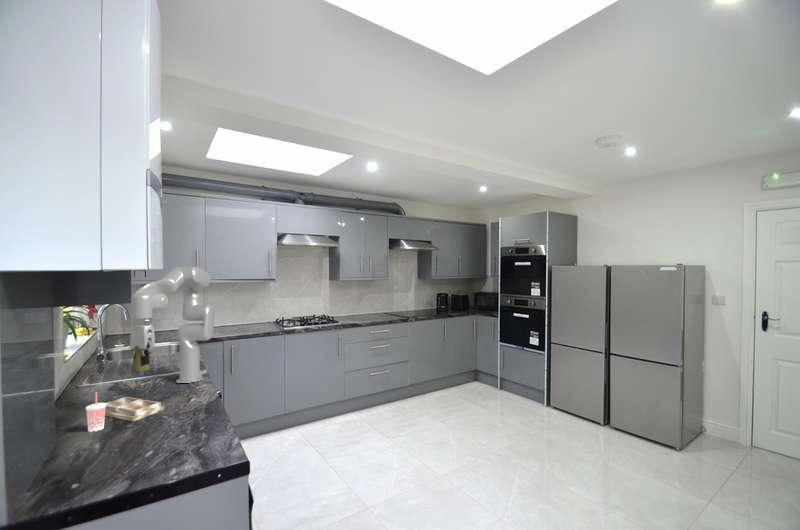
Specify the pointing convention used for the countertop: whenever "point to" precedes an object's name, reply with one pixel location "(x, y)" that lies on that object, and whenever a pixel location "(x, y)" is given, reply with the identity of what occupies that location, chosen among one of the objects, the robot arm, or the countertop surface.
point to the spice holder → (132, 408)
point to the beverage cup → (96, 416)
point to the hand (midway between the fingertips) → (141, 364)
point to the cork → (139, 361)
